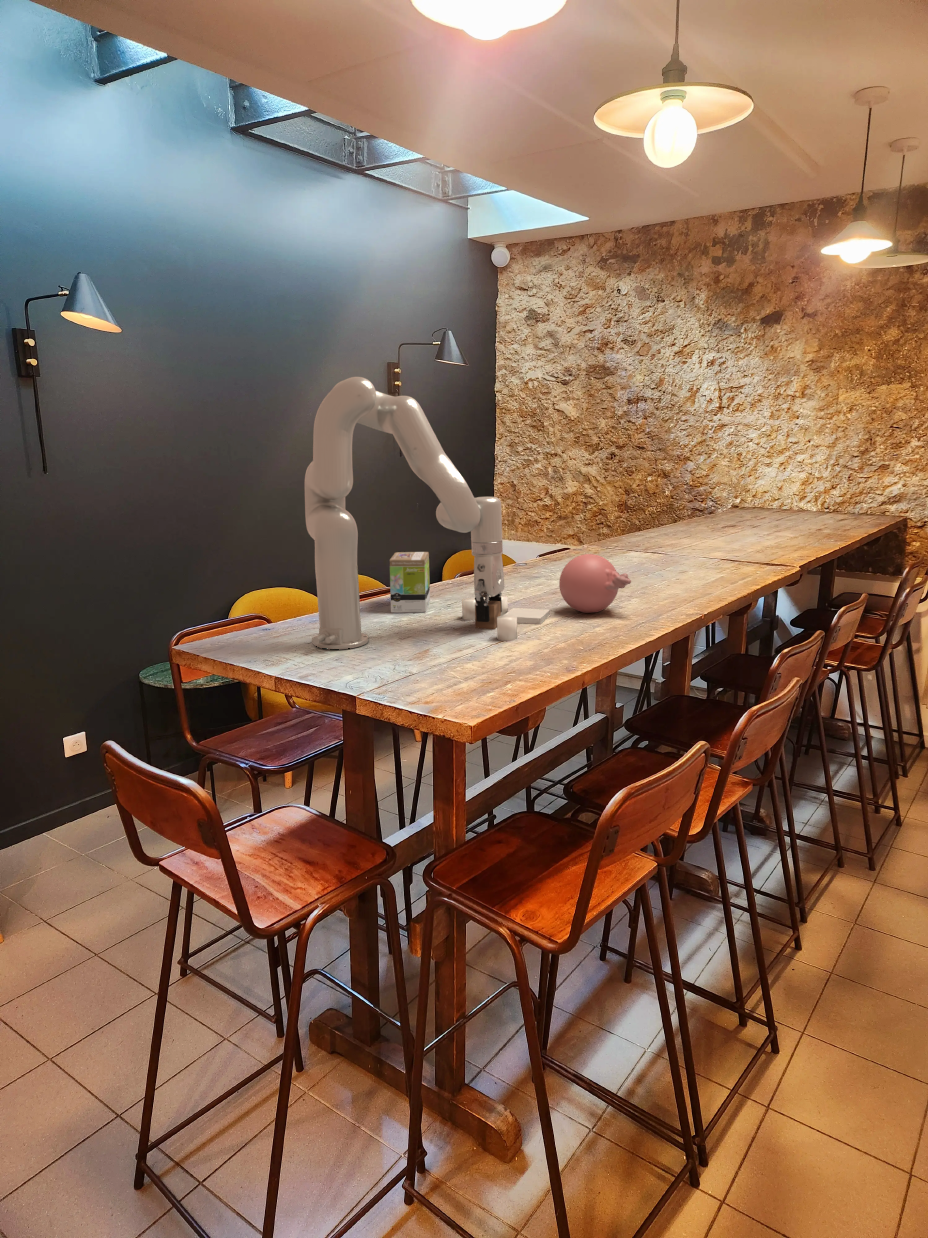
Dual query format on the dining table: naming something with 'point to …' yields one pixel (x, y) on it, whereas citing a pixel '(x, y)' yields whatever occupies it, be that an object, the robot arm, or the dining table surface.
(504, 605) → the white cylinder
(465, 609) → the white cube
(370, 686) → the dining table surface
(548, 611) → the stone coaster
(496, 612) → the walnut block
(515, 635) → the cup
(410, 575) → the tea box
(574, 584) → the pink balloon
